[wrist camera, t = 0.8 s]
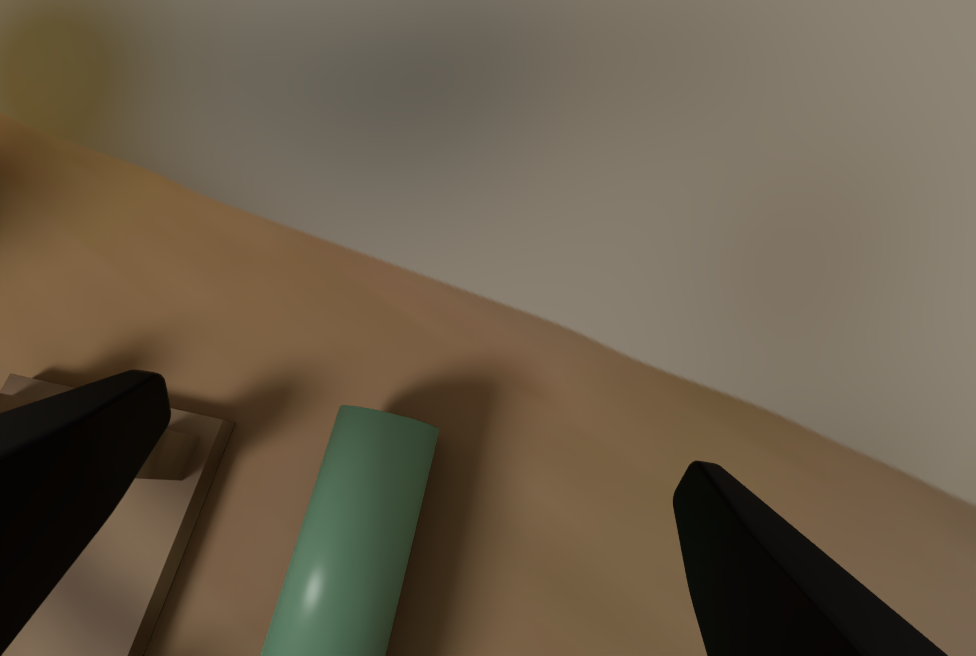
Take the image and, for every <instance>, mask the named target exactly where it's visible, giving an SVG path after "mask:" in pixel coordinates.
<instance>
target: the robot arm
mask: <svg viewBox="0 0 976 656" xmlns="http://www.w3.org/2000/svg"><path fill="white" fill-rule="evenodd" d="M170 419H171V408H170V403H169V398H168V393H167V388H166V383H165V379H164V378H163V376H162V375H161V374H158V373H155V372H149V371H143V370H129V371H126V372H123V373H120V374H117V375H114V376H111V377H108V378H105V379H102V380H99V381H96V382H93V383H90V384H87V385H84V386H81V387H78V388H75V389H72V390H69V391H65V392H62V393H59V394H56V395H53V396H50V397H47V398H44V399H41V400H38V401H35V402H32V403H29V404H26V405H23V406H20V407H17V408H14V409H11V410H8V411H5V412H2V413H0V656H2V654H3V653H4V652H5V650H6V649H7V648H8V647H9V645H10V644H11V643H12V641H13V640H14V639H15V638H16V636H17V635H18V634H19V633H20V631H21V630H22V629H23V627H24V626H25V625H26V624H27V622H28V621H29V620H30V618H31V617H32V616H33V615H34V613H35V612H36V611H37V609H38V608H39V607H40V606H41V604H42V603H43V602H44V600H45V599H46V598H47V597H48V595H49V594H50V593H51V592H52V590H53V589H54V588H55V586H56V585H57V584H58V583H59V581H60V580H61V579H62V577H63V576H64V575H65V574H66V572H67V571H68V570H69V568H70V567H71V566H72V565H73V563H74V562H75V561H76V560H77V558H78V557H79V556H80V554H81V553H82V552H83V551H84V549H85V548H86V547H87V545H88V544H89V543H90V542H91V540H92V539H93V538H94V536H95V535H96V534H97V533H98V531H99V530H100V529H101V527H102V526H103V525H104V523H105V522H106V521H107V519H108V518H109V517H110V515H111V514H112V513H113V511H114V510H115V508H116V507H117V506H118V504H119V503H120V501H121V500H122V498H123V497H124V495H125V494H126V492H127V490H128V489H129V487H130V486H131V484H132V483H133V481H134V479H135V478H136V476H137V475H138V473H139V472H140V470H141V468H142V467H143V465H144V464H145V462H146V460H147V459H148V457H149V456H150V454H151V453H152V451H153V449H154V448H155V446H156V445H157V443H158V442H159V440H160V438H161V437H162V435H163V434H164V432H165V431H166V429H167V427H168V425H169V423H170ZM673 508H674V514H675V519H676V524H677V530H678V535H679V540H680V546H681V551H682V556H683V562H684V567H685V573H686V578H687V583H688V587H689V592H690V596H691V600H692V603H693V607H694V611H695V614H696V618H697V621H698V624H699V628H700V631H701V635H702V638H703V642H704V645H705V649H706V652H707V655H708V656H948V655H947V654H946V653H944V652H943V651H942V650H941V649H940V648H938V647H937V646H936V645H935V644H934V643H932V642H931V641H930V640H929V639H928V638H926V637H925V636H924V635H923V634H922V633H920V632H919V631H918V630H917V629H916V628H914V627H913V626H912V625H911V624H910V623H908V622H907V621H906V620H905V619H904V618H902V617H901V616H900V615H899V614H897V613H896V612H895V611H894V610H893V609H891V608H890V607H889V606H888V605H887V604H885V603H884V602H883V601H882V600H881V599H879V598H878V597H877V596H876V595H875V594H873V593H872V592H871V591H870V590H869V589H867V588H866V587H865V586H864V585H863V584H861V583H860V582H859V581H858V580H857V579H855V578H854V577H853V576H852V575H851V574H849V573H848V572H847V571H846V570H845V569H843V568H842V567H841V566H840V565H839V564H837V563H836V562H835V561H834V560H833V559H831V558H830V557H829V556H828V555H827V554H825V553H824V552H823V551H822V550H821V549H819V548H818V547H817V546H816V545H815V544H813V543H812V542H811V541H810V540H809V539H807V538H806V537H805V536H804V535H803V534H801V533H800V532H799V531H798V530H797V529H795V528H794V527H793V526H792V525H791V524H789V523H788V522H787V521H786V520H785V519H783V518H782V517H781V516H780V515H779V514H777V513H776V512H775V511H774V510H773V509H771V508H770V507H769V506H768V505H767V504H765V503H764V502H763V501H762V500H761V499H759V498H758V497H757V496H756V495H755V494H753V493H752V492H751V491H750V490H749V489H747V488H746V487H745V486H744V485H743V484H741V483H740V482H739V481H738V480H737V479H735V478H734V477H733V476H732V475H731V474H729V473H728V472H727V471H726V470H725V469H723V468H722V467H721V466H720V465H718V464H715V463H710V462H703V461H693V462H692V463H691V464H690V465H689V466H688V468H687V470H686V472H685V474H684V475H683V477H682V479H681V481H680V483H679V484H678V486H677V488H676V490H675V492H674V496H673Z"/></svg>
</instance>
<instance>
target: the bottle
mask: <svg viewBox="0 0 976 656" xmlns="http://www.w3.org/2000/svg"><path fill="white" fill-rule="evenodd" d="M438 434H439V429H438V428H437V427H435V426H432V425H430V424H427V423H424V422H421V421H418V420H415V419H411V418H408V417H404V416H400V415H396V414H392V413H388V412H384V411H379V410H374V409H369V408H363V407H357V406H348V405H342V406H340V407H339V411H338V414H337V417H336V420H335V423H334V426H333V429H332V433H331V436H330V439H329V442H328V445H327V448H326V451H325V454H324V458H323V461H322V464H321V467H320V470H319V473H318V476H317V479H316V483H315V486H314V489H313V492H312V495H311V498H310V501H309V505H308V508H307V511H306V514H305V517H304V520H303V523H302V526H301V530H300V533H299V536H298V539H297V542H296V545H295V548H294V551H293V555H292V558H291V561H290V564H289V567H288V570H287V573H286V577H285V580H284V583H283V586H282V589H281V592H280V595H279V598H278V602H277V605H276V608H275V611H274V614H273V617H272V620H271V623H270V627H269V630H268V633H267V636H266V639H265V642H264V645H263V649H262V652H261V655H260V656H386V651H387V647H388V643H389V639H390V635H391V631H392V626H393V622H394V618H395V614H396V610H397V605H398V601H399V597H400V593H401V589H402V585H403V580H404V576H405V572H406V568H407V564H408V560H409V555H410V551H411V547H412V543H413V539H414V534H415V530H416V526H417V522H418V518H419V514H420V509H421V505H422V501H423V497H424V493H425V489H426V484H427V480H428V476H429V472H430V468H431V463H432V459H433V455H434V451H435V447H436V443H437V438H438Z"/></svg>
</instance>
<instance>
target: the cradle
mask: <svg viewBox="0 0 976 656" xmlns="http://www.w3.org/2000/svg"><path fill="white" fill-rule="evenodd" d="M72 389H75V387H71V386H66V385H61V384H57V383H52V382H47V381H43V380H38V379H34V378H29V377H24V376H20V375H15V374H10V375H9V377H8V379H7V380H6V382H5V384H4V386H3V387H2V389H1V391H0V413H2V412H5V411H8V410H11V409H14V408H17V407H20V406H23V405H26V404H29V403H32V402H35V401H38V400H41V399H44V398H47V397H50V396H53V395H56V394H59V393H62V392H65V391H69V390H72ZM234 424H235V422H231V421H227V420H223V419H219V418H214V417H209V416H205V415H200V414H195V413H191V412H186V411H182V410H177V409H172V408H171V419H170V423H169V425H168V427H167V429H166V431H165V432H164V434H163V435H162V437H161V438H160V440H159V442H158V443H157V445H156V446H155V448H154V449H153V451H152V453H151V454H150V456H149V457H148V459H147V460H146V462H145V464H144V465H143V467H142V468H141V470H140V472H139V473H138V475H137V476H136V478H135V479H134V481H133V483H132V484H131V486H130V487H129V489H128V490H127V492H126V494H125V495H124V497H123V498H122V500H121V501H120V503H119V504H118V506H117V507H116V508H115V510H114V511H113V513H112V514H111V515H110V517H109V518H108V519H107V521H106V522H105V523H104V525H103V526H102V527H101V529H100V530H99V531H98V533H97V534H96V535H95V536H94V538H93V539H92V540H91V542H90V543H89V544H88V545H87V547H86V548H85V549H84V551H83V552H82V553H81V554H80V556H79V557H78V558H77V560H76V561H75V562H74V563H73V565H72V566H71V567H70V568H69V570H68V571H67V572H66V574H65V575H64V576H63V577H62V579H61V580H60V581H59V583H58V584H57V585H56V586H55V588H54V589H53V590H52V592H51V593H50V594H49V595H48V597H47V598H46V599H45V600H44V602H43V603H42V604H41V606H40V607H39V608H38V609H37V611H36V612H35V613H34V615H33V616H32V617H31V618H30V620H29V621H28V622H27V624H26V625H25V626H24V627H23V629H22V630H21V631H20V633H19V634H18V635H17V636H16V638H15V639H14V640H13V641H12V643H11V644H10V645H9V647H8V648H7V649H6V650H5V652H4V653H3V654H2V656H143V655H144V652H145V650H146V647H147V645H148V642H149V640H150V637H151V635H152V632H153V630H154V627H155V625H156V622H157V619H158V617H159V614H160V612H161V609H162V607H163V604H164V602H165V599H166V597H167V594H168V592H169V589H170V586H171V584H172V581H173V579H174V576H175V574H176V571H177V569H178V566H179V564H180V561H181V559H182V556H183V553H184V551H185V548H186V546H187V543H188V541H189V538H190V536H191V533H192V531H193V528H194V526H195V523H196V521H197V518H198V515H199V513H200V510H201V508H202V505H203V503H204V500H205V498H206V495H207V493H208V490H209V488H210V485H211V482H212V480H213V477H214V475H215V472H216V470H217V467H218V465H219V462H220V460H221V457H222V455H223V452H224V449H225V447H226V444H227V442H228V439H229V437H230V434H231V432H232V429H233V427H234Z"/></svg>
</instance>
